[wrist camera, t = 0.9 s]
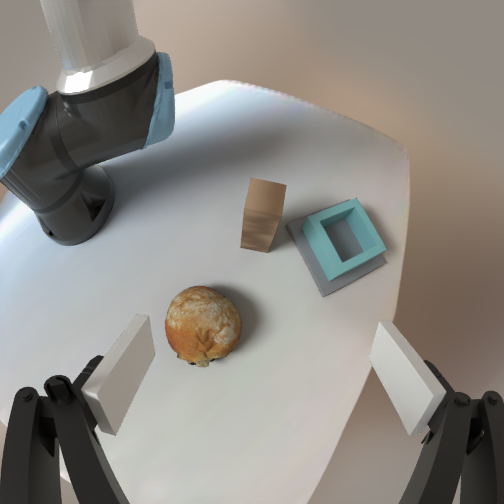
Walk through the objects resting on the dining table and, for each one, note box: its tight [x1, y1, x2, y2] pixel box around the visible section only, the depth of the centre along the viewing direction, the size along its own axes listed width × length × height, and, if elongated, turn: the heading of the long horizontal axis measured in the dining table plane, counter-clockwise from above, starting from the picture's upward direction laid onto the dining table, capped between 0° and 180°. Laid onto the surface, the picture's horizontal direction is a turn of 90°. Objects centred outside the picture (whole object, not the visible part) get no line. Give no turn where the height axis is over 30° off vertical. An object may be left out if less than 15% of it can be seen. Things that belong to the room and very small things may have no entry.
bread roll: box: [165, 286, 242, 367], centre depth 34 cm, size 10×10×8 cm
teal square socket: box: [286, 198, 386, 297], centre depth 39 cm, size 12×12×5 cm
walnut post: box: [240, 178, 286, 253], centre depth 35 cm, size 4×4×12 cm
